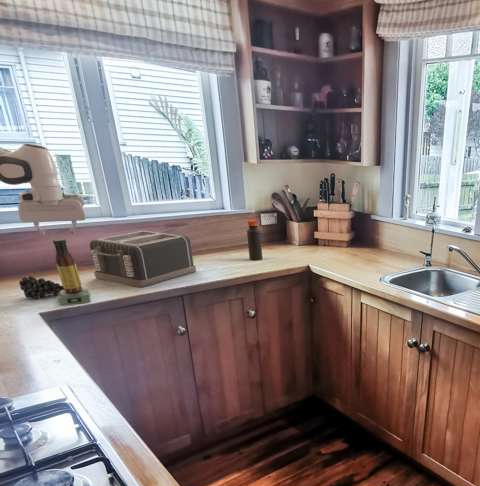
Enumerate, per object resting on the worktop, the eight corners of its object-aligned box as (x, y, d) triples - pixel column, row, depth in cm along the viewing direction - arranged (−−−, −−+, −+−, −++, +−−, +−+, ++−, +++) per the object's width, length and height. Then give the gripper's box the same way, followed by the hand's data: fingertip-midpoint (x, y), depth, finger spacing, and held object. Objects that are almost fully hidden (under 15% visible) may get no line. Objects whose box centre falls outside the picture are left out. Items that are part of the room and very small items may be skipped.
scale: (60, 306, 176) (57, 298, 174) (61, 298, 184) (59, 290, 183) (90, 302, 180) (88, 295, 179) (90, 295, 188) (89, 287, 187)
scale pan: (59, 297, 175) (58, 295, 175) (60, 290, 183) (60, 288, 182) (87, 294, 179) (87, 292, 179) (88, 288, 187) (87, 286, 186)
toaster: (85, 280, 206) (75, 241, 199) (151, 263, 235) (145, 228, 228) (133, 290, 195) (124, 249, 187) (196, 271, 224) (191, 235, 216)
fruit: (62, 270, 187) (16, 273, 180) (63, 281, 182) (16, 285, 175) (66, 288, 192) (22, 292, 185) (68, 300, 187) (22, 304, 180)
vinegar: (264, 258, 252) (261, 220, 243) (259, 261, 246) (255, 222, 237) (253, 257, 253) (249, 219, 245) (247, 260, 247) (243, 221, 239)
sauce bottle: (72, 287, 184) (58, 237, 175) (86, 288, 183) (73, 237, 175) (59, 292, 178) (45, 240, 170) (74, 293, 177) (60, 241, 169)
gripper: (82, 192, 172) (90, 230, 178) (15, 194, 163) (26, 233, 169) (81, 194, 167) (90, 233, 173) (12, 196, 158) (24, 237, 164)
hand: (58, 233), depth 171 cm, fingers open, 8 cm apart
